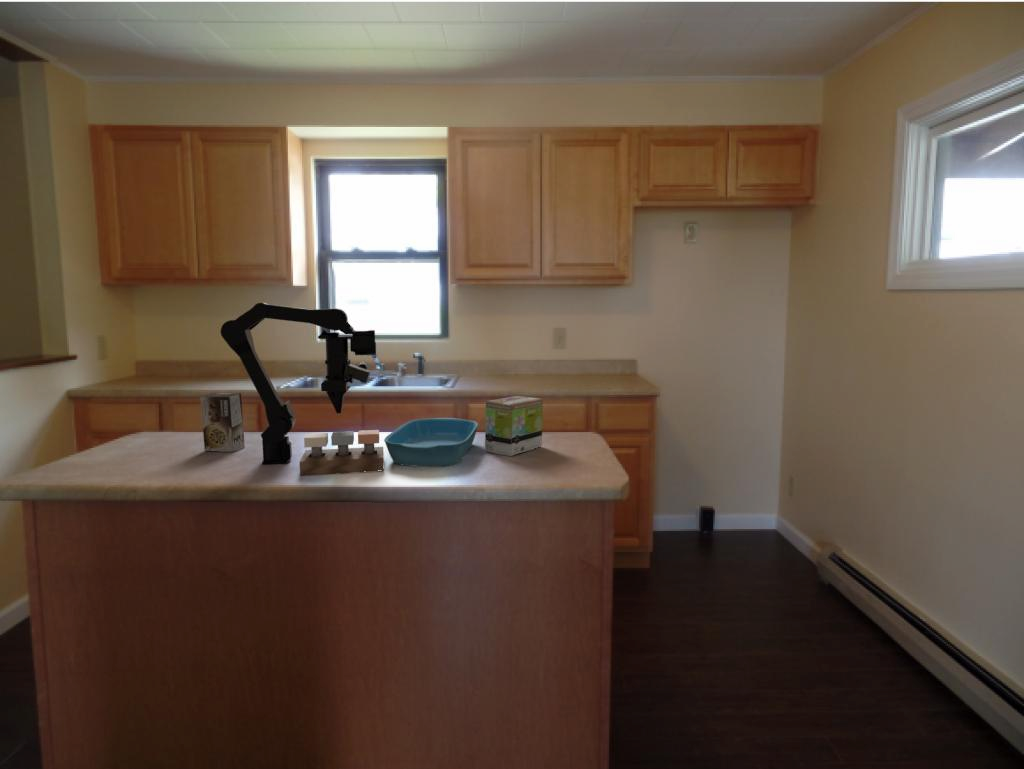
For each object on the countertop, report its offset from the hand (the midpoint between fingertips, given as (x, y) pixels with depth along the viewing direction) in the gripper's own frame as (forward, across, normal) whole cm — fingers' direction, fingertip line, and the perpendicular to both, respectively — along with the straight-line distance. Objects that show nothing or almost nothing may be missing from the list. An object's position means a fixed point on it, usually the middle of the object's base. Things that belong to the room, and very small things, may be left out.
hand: (339, 413), depth 166 cm
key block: (+12, -10, -2) cm, 16 cm away
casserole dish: (+13, +1, -26) cm, 29 cm away
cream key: (+10, -10, +4) cm, 15 cm away
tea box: (+12, +3, -48) cm, 50 cm away
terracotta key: (+9, -10, -9) cm, 16 cm away
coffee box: (+13, +15, +34) cm, 40 cm away
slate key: (+9, -10, -2) cm, 14 cm away
